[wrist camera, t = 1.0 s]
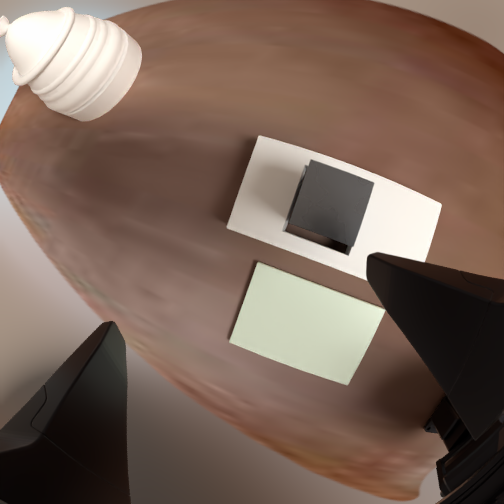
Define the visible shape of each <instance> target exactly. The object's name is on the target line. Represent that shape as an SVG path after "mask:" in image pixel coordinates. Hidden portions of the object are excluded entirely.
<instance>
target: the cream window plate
mask: <svg viewBox="0 0 504 504" xmlns="http://www.w3.org/2000/svg"><path fill="white" fill-rule="evenodd" d="M310 159H312V160H315V161H318V162H321V163H323V164H326V165H329V166H332V167H335V168H338V169H340V170H343V171H346V172H349V173H351V174H354V175H356V176H359V177H362V178H364V179H367V180H369V181H372V182H374V186H373V190H372V193H371V196H370V199H369V203H368V206H367V209H366V212H365V215H364V218H363V221H362V224H361V227H360V230H359V233H358V236H357V238H356V241H355V244H354V247H352V246H349V245H348V247H347V249H346V252H345V253H342V252H340V251H337V250H335V249H332V248H329V247H327V246H324V245H321V244H319V243H316V242H313V241H311V240H308V239H305V238H302V237H300V236H297V235H294V234H292V233H289V232H286V231H285V230H286V227H287V224H288V221H289V218H290V215H291V212H292V210H293V207H294V204H295V201H296V198H297V195H298V192H299V189H300V186H301V183H302V180H303V178H304V175H305V172H306V171H307V168H308V165H309V162H310ZM441 206H442V204H440V203H438V202H436V201H434V200H432V199H430V198H428V197H426V196H424V195H422V194H420V193H418V192H415V191H413V190H411V189H409V188H407V187H404V186H402V185H400V184H398V183H395V182H393V181H391V180H388V179H386V178H383V177H381V176H379V175H376V174H374V173H371V172H369V171H366V170H364V169H361V168H358V167H356V166H353V165H351V164H348V163H345V162H342V161H340V160H337V159H334V158H331V157H328V156H325V155H322V154H320V153H317V152H313V151H310V150H307V149H304V148H301V147H298V146H295V145H291V144H288V143H285V142H281V141H278V140H274V139H271V138H267V137H263V136H260V135H259V137H258V140H257V142H256V145H255V148H254V151H253V153H252V156H251V159H250V162H249V164H248V167H247V170H246V173H245V176H244V178H243V181H242V184H241V187H240V190H239V193H238V196H237V198H236V201H235V204H234V207H233V210H232V213H231V216H230V219H229V222H228V225H227V229H230V230H233V231H236V232H238V233H241V234H244V235H247V236H249V237H252V238H255V239H258V240H260V241H263V242H266V243H269V244H271V245H274V246H277V247H279V248H282V249H285V250H288V251H290V252H293V253H296V254H298V255H301V256H304V257H306V258H309V259H312V260H314V261H317V262H320V263H322V264H325V265H328V266H330V267H333V268H336V269H338V270H341V271H344V272H346V273H349V274H351V275H354V276H357V277H359V278H362V279H365V280H367V278H366V262H367V256H368V255H369V254H372V253H375V252H381V253H385V254H390V255H394V256H399V257H404V258H408V259H413V260H417V261H421V262H425V259H426V256H427V253H428V250H429V247H430V244H431V241H432V238H433V234H434V231H435V228H436V224H437V221H438V217H439V214H440V210H441Z"/></svg>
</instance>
